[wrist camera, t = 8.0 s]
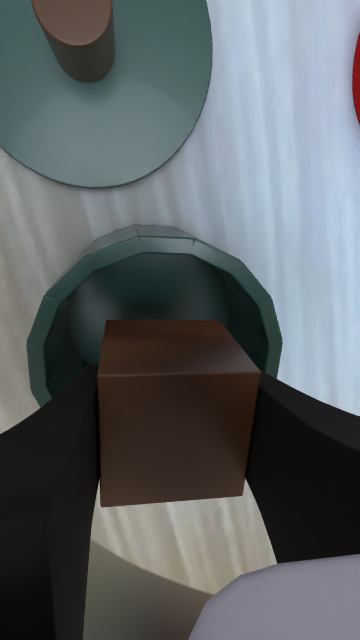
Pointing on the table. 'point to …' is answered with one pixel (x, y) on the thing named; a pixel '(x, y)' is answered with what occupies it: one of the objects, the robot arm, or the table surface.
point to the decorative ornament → (357, 79)
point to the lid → (101, 85)
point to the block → (173, 411)
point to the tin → (146, 301)
